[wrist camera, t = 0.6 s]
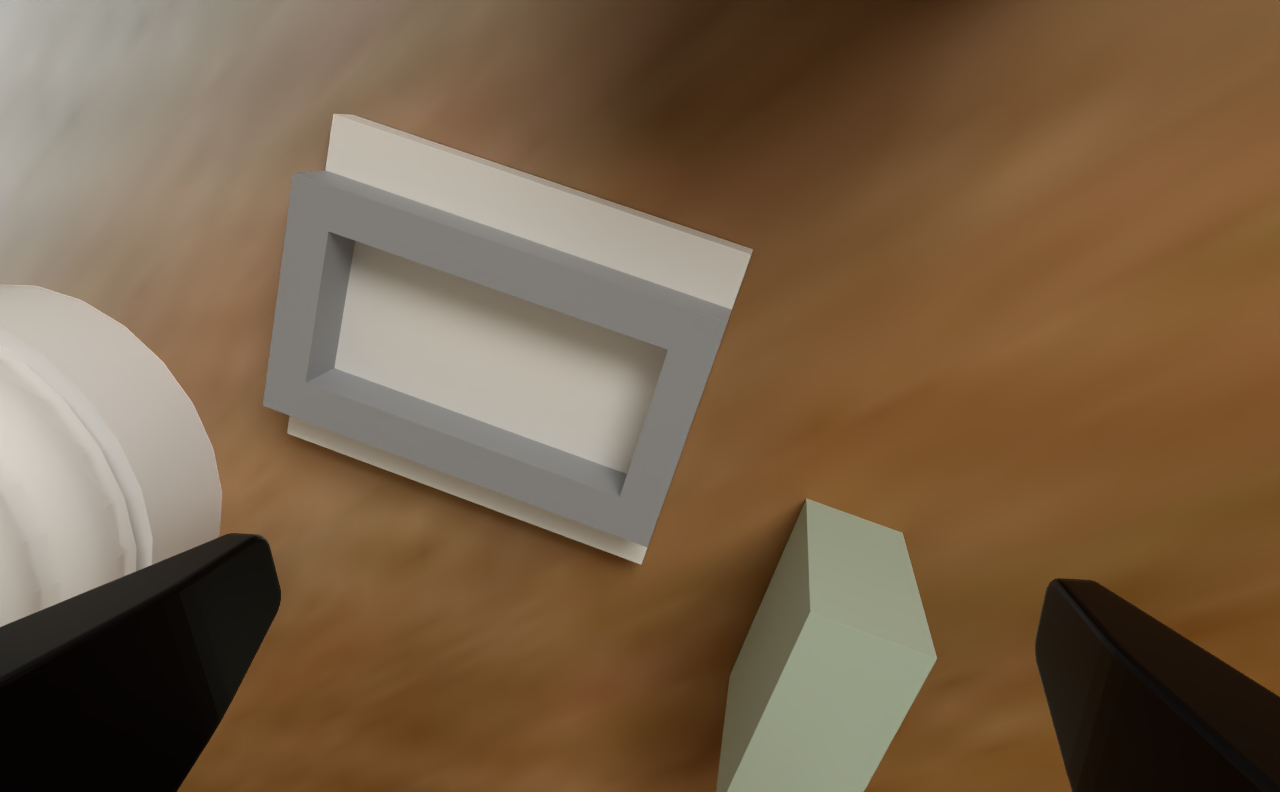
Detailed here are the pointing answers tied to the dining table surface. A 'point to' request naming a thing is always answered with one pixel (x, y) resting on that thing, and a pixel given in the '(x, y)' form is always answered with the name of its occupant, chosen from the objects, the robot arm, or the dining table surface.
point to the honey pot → (91, 454)
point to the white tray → (495, 332)
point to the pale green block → (826, 661)
